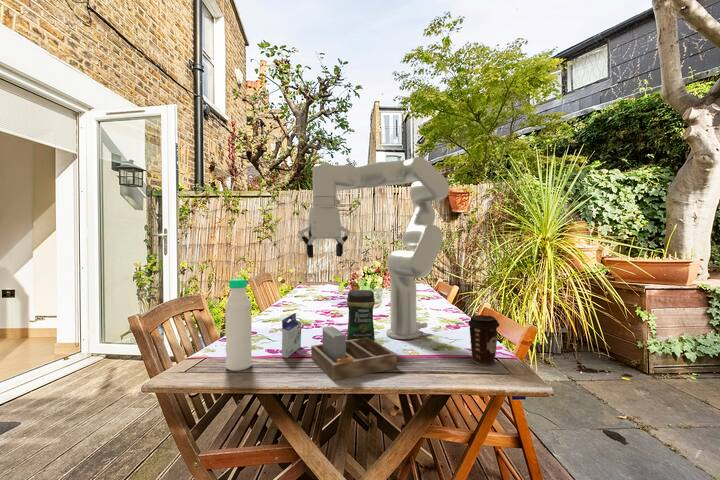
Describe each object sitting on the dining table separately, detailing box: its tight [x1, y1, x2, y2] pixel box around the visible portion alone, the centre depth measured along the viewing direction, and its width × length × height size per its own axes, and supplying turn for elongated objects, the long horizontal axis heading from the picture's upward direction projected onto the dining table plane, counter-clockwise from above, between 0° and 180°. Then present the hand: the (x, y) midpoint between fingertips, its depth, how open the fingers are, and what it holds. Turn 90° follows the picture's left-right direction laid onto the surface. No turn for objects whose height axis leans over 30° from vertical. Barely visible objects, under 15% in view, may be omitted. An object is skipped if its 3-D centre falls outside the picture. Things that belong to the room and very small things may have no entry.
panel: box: [322, 325, 347, 363], centre depth 103 cm, size 3×10×10 cm, turn 26°
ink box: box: [281, 312, 302, 359], centre depth 116 cm, size 12×2×12 cm, turn 168°
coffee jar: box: [346, 289, 376, 342], centre depth 123 cm, size 10×8×19 cm
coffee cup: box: [467, 314, 500, 366], centre depth 106 cm, size 9×8×13 cm
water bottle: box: [224, 278, 253, 372], centre depth 103 cm, size 7×7×25 cm
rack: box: [310, 337, 398, 381], centre depth 105 cm, size 19×18×5 cm
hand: (325, 256), depth 116 cm, fingers open, 9 cm apart
